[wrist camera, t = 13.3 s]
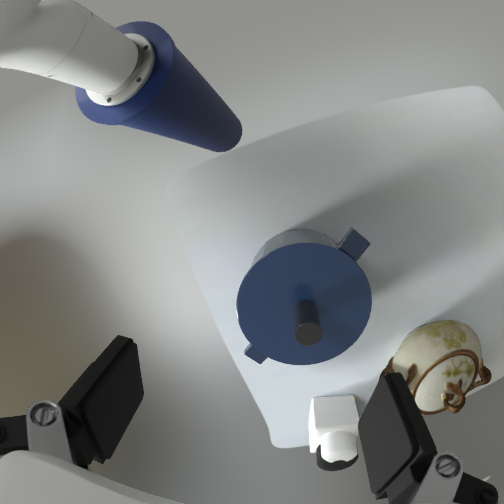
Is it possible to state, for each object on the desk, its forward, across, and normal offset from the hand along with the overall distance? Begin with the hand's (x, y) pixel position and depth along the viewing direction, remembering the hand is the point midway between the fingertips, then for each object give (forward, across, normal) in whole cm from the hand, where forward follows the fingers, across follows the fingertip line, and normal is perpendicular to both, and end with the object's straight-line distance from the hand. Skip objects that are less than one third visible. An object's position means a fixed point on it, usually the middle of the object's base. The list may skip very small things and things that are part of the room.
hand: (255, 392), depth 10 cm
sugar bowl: (+26, -26, +14) cm, 39 cm away
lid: (+18, -4, +5) cm, 19 cm away
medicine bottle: (+26, -14, +28) cm, 41 cm away
